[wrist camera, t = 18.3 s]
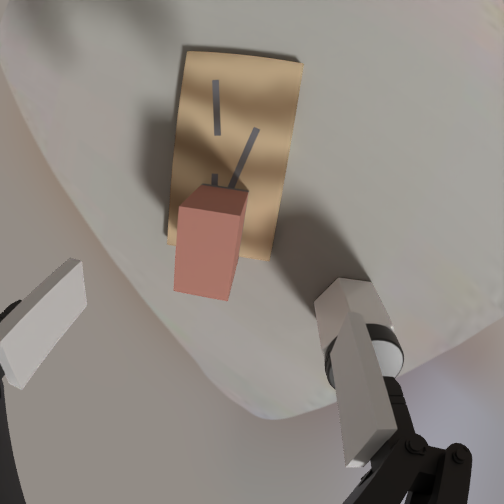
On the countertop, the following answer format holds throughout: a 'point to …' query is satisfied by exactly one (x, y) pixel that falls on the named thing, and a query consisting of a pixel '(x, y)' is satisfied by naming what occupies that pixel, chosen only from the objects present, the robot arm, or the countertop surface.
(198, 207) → the block
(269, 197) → the board
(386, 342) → the jar
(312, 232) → the countertop surface
